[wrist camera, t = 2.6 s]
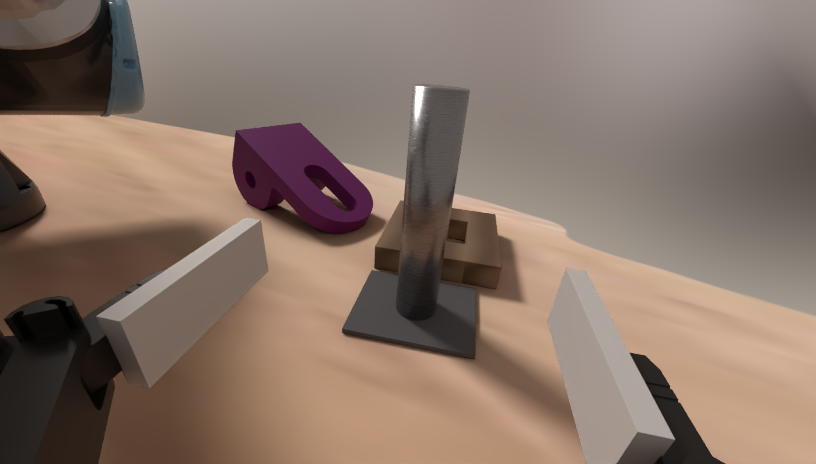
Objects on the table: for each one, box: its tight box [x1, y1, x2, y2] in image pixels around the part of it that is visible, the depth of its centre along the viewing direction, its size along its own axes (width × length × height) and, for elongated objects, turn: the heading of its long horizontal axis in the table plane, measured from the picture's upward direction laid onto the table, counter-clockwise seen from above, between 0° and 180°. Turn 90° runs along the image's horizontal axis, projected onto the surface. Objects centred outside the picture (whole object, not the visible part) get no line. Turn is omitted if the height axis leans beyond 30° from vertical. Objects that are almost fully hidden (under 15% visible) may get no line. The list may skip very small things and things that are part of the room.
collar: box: [374, 201, 502, 289], centre depth 37 cm, size 12×12×2 cm
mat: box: [342, 270, 476, 359], centre depth 28 cm, size 10×8×1 cm
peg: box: [396, 84, 470, 321], centre depth 24 cm, size 3×3×17 cm
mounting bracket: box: [232, 123, 373, 234], centre depth 43 cm, size 10×8×18 cm
